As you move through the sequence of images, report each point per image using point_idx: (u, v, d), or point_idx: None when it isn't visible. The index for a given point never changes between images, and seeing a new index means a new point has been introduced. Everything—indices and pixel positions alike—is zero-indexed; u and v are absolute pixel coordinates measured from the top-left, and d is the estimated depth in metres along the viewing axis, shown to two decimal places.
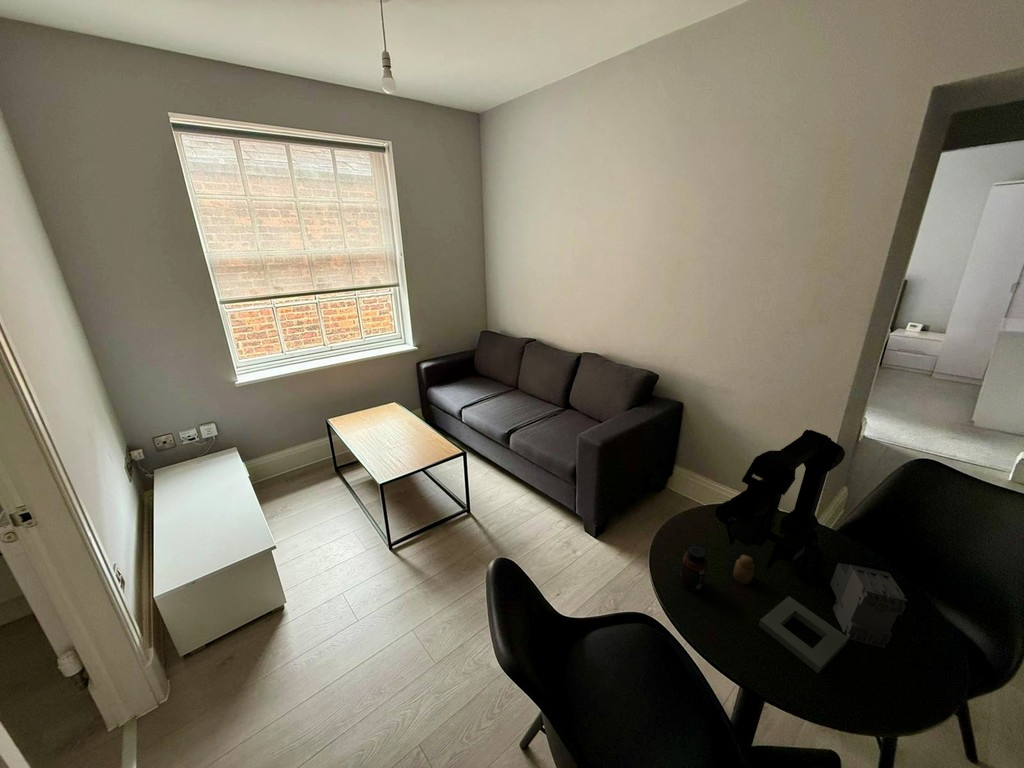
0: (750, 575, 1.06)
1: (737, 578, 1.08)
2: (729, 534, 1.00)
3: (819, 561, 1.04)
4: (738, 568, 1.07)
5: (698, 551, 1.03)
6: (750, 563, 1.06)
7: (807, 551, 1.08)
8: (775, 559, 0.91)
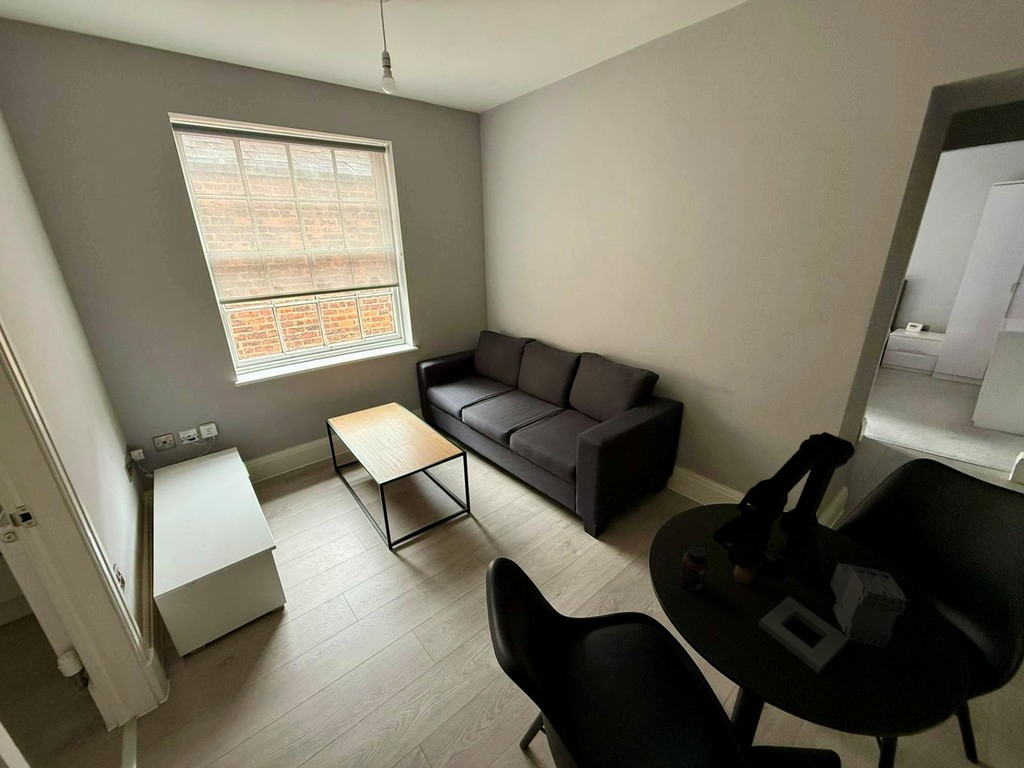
0: (751, 575, 1.06)
1: (738, 578, 1.08)
2: None
3: (816, 561, 1.04)
4: (739, 568, 1.07)
5: (698, 551, 1.03)
6: None
7: (804, 551, 1.08)
8: (760, 575, 1.03)
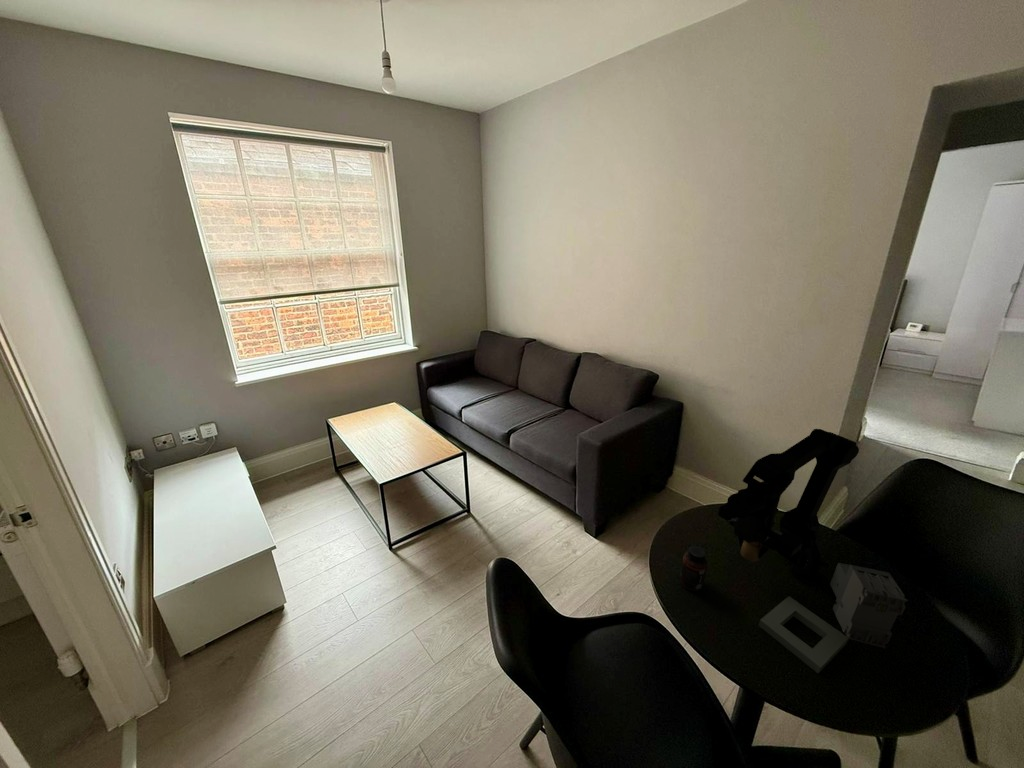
0: (759, 552, 1.02)
1: (745, 556, 1.04)
2: (739, 537, 1.06)
3: (816, 561, 1.04)
4: (746, 545, 1.03)
5: (698, 551, 1.03)
6: None
7: (804, 551, 1.08)
8: (765, 549, 1.00)
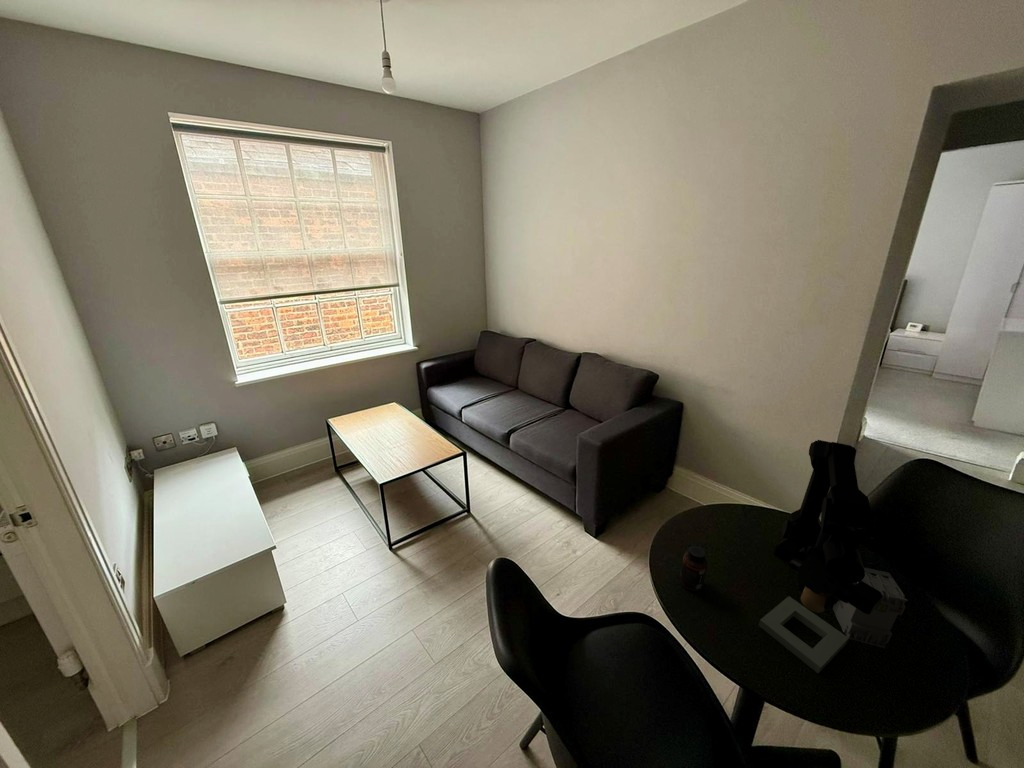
0: (825, 602, 0.87)
1: (807, 605, 0.89)
2: None
3: None
4: (809, 593, 0.88)
5: (698, 551, 1.03)
6: None
7: None
8: (835, 600, 0.84)
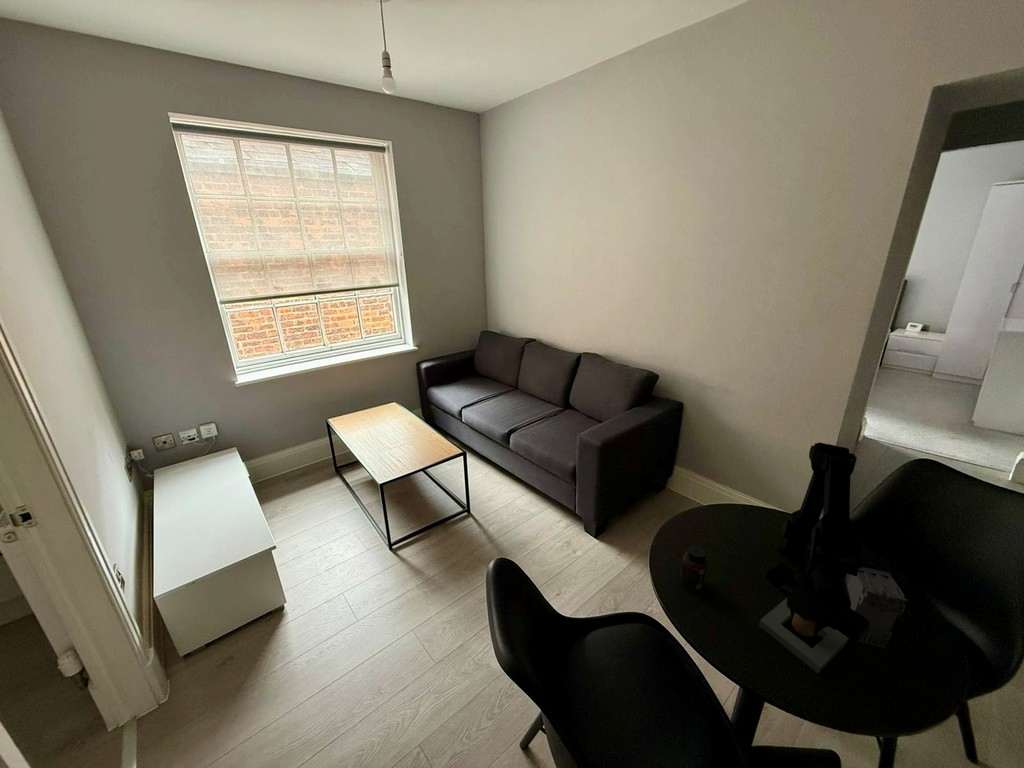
0: (815, 627, 0.90)
1: (798, 629, 0.92)
2: None
3: None
4: (800, 617, 0.91)
5: (698, 551, 1.03)
6: None
7: None
8: (824, 626, 0.87)
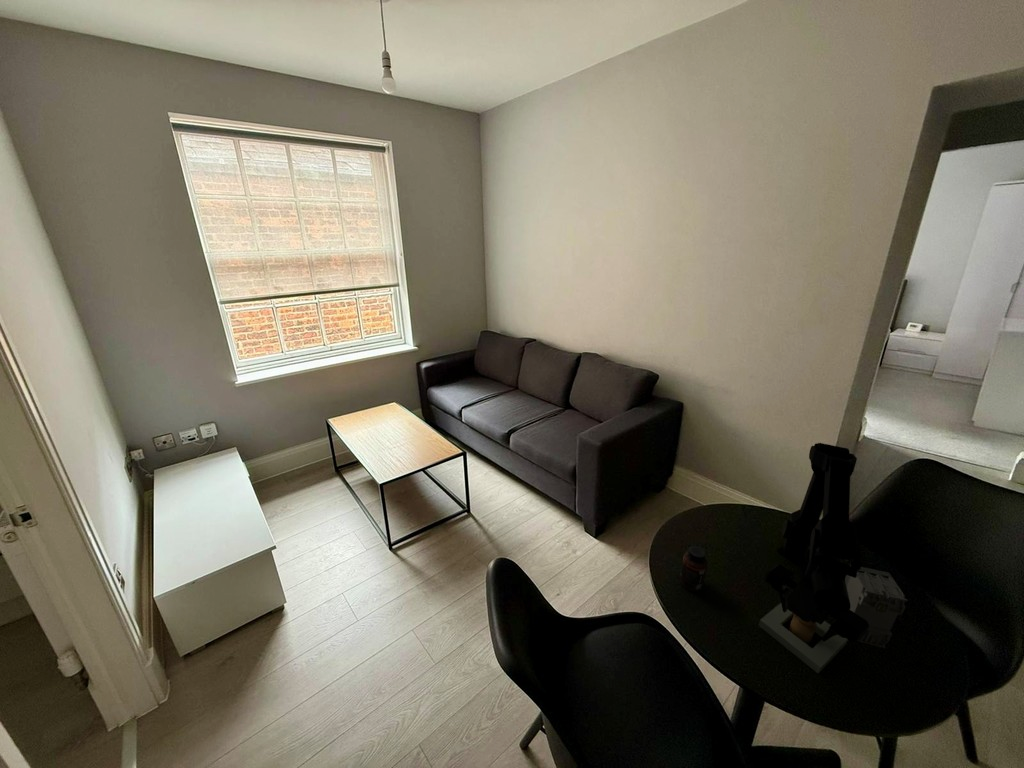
0: (812, 633, 0.91)
1: (795, 635, 0.93)
2: (782, 602, 0.95)
3: None
4: (797, 624, 0.92)
5: (698, 551, 1.03)
6: None
7: None
8: (833, 634, 0.86)
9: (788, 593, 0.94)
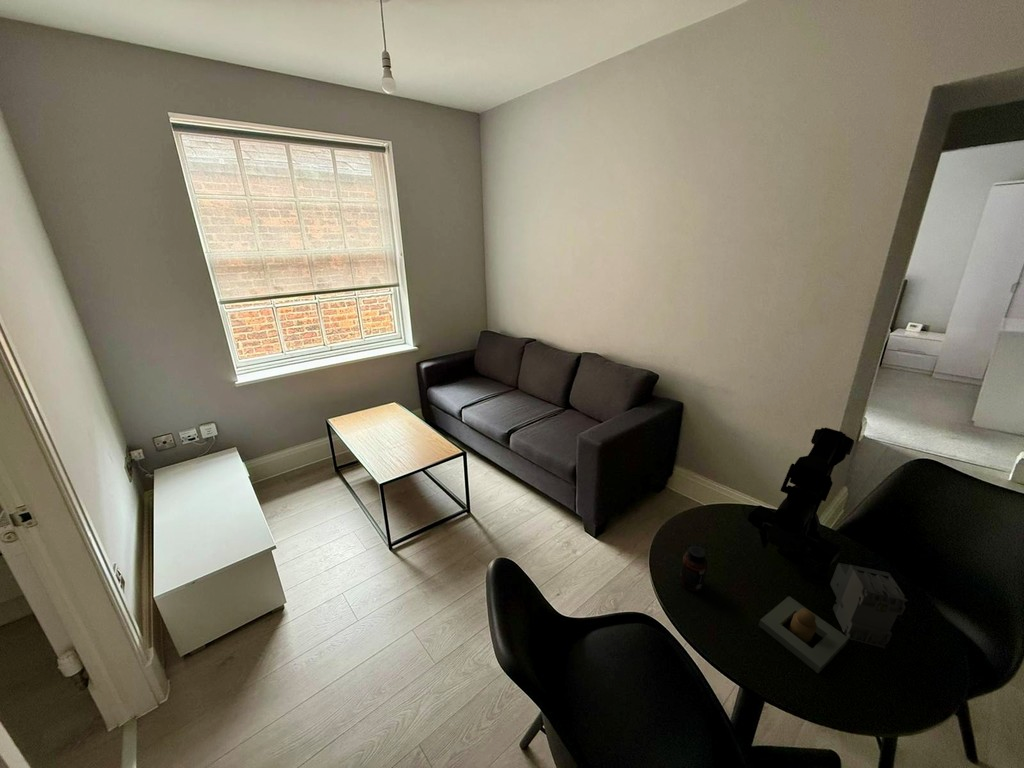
0: (812, 633, 0.91)
1: (795, 635, 0.92)
2: (762, 538, 1.03)
3: None
4: (797, 624, 0.92)
5: (698, 551, 1.03)
6: (812, 620, 0.90)
7: None
8: (811, 562, 0.93)
9: (767, 529, 1.02)
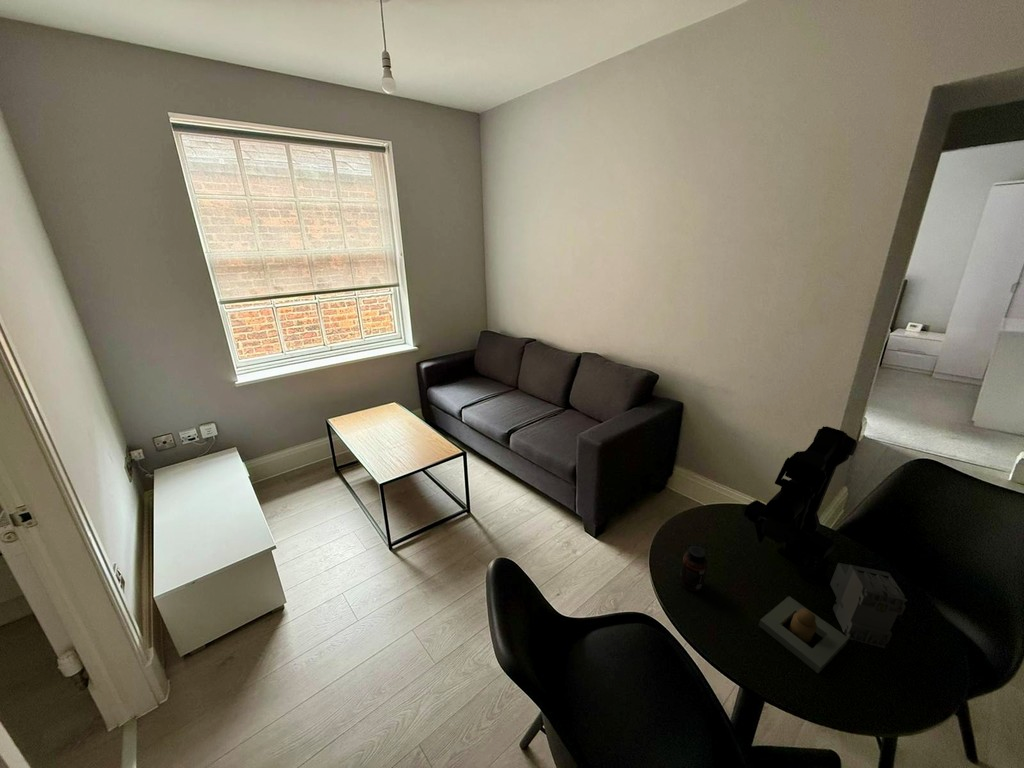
0: (812, 633, 0.91)
1: None
2: (758, 532, 1.04)
3: (825, 562, 1.04)
4: (797, 624, 0.92)
5: (698, 551, 1.03)
6: (812, 620, 0.90)
7: None
8: (805, 556, 0.95)
9: (763, 524, 1.03)
